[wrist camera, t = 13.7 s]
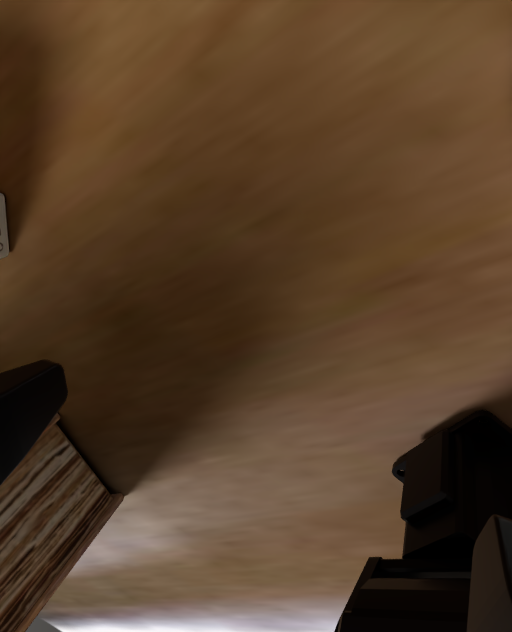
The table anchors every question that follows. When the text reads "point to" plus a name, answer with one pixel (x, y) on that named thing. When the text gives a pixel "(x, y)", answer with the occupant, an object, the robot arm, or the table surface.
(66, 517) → the brown striped upright block
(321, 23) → the table surface
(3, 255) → the skincare box
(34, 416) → the robot arm
